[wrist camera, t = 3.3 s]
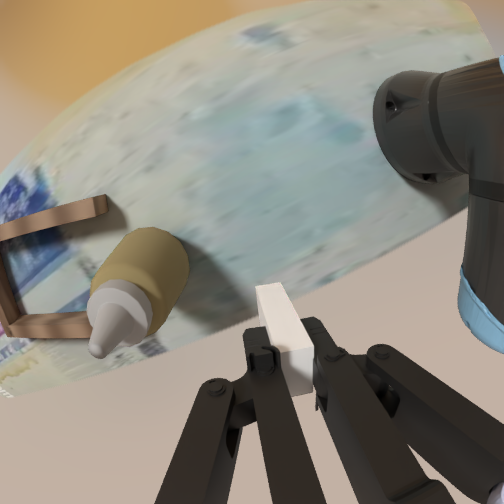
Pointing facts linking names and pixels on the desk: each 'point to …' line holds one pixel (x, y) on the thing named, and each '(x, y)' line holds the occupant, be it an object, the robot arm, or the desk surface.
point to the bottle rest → (3, 303)
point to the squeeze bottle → (135, 289)
